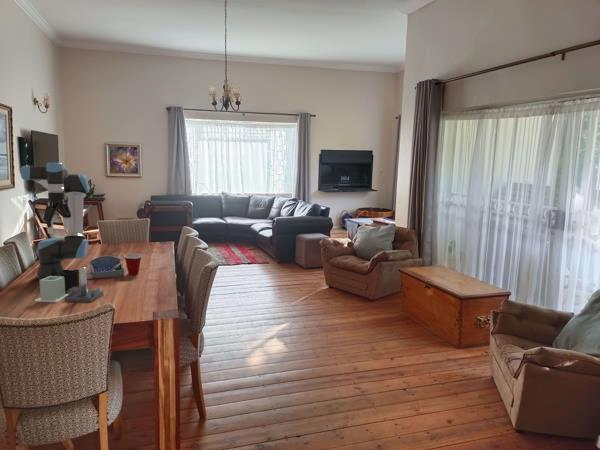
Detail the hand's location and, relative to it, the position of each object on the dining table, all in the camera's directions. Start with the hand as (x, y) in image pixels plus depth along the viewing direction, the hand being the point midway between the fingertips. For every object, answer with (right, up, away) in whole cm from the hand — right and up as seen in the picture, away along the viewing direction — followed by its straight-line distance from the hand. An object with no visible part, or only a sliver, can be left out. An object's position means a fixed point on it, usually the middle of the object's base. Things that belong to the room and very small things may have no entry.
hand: (58, 231), depth 236 cm
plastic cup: (+25, -28, +41) cm, 56 cm away
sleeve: (+2, -34, -9) cm, 35 cm away
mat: (+2, -34, -9) cm, 36 cm away
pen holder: (+2, -32, +9) cm, 33 cm away
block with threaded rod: (+18, -34, -8) cm, 39 cm away
